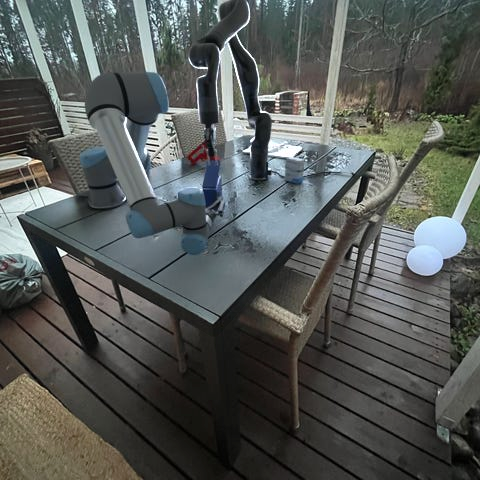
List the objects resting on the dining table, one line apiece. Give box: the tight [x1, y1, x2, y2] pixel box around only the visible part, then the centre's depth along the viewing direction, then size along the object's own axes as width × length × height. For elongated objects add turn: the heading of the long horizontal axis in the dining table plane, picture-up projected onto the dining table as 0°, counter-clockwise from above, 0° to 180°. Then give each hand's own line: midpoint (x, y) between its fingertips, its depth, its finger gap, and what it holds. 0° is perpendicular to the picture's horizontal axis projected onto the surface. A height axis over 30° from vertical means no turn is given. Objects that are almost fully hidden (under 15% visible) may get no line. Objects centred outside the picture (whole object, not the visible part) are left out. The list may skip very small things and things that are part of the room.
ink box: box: [284, 156, 306, 185], centre depth 140 cm, size 8×5×12 cm, turn 47°
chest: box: [201, 174, 223, 212], centre depth 117 cm, size 16×6×11 cm, turn 177°
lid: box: [201, 148, 221, 190], centre depth 109 cm, size 17×6×9 cm, turn 176°
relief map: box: [242, 138, 304, 160], centre depth 192 cm, size 27×35×5 cm
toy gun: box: [186, 140, 221, 165], centre depth 167 cm, size 18×4×15 cm
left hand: (211, 195), depth 113 cm, fingers closed on chest, 6 cm apart
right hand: (211, 155), depth 111 cm, fingers closed
